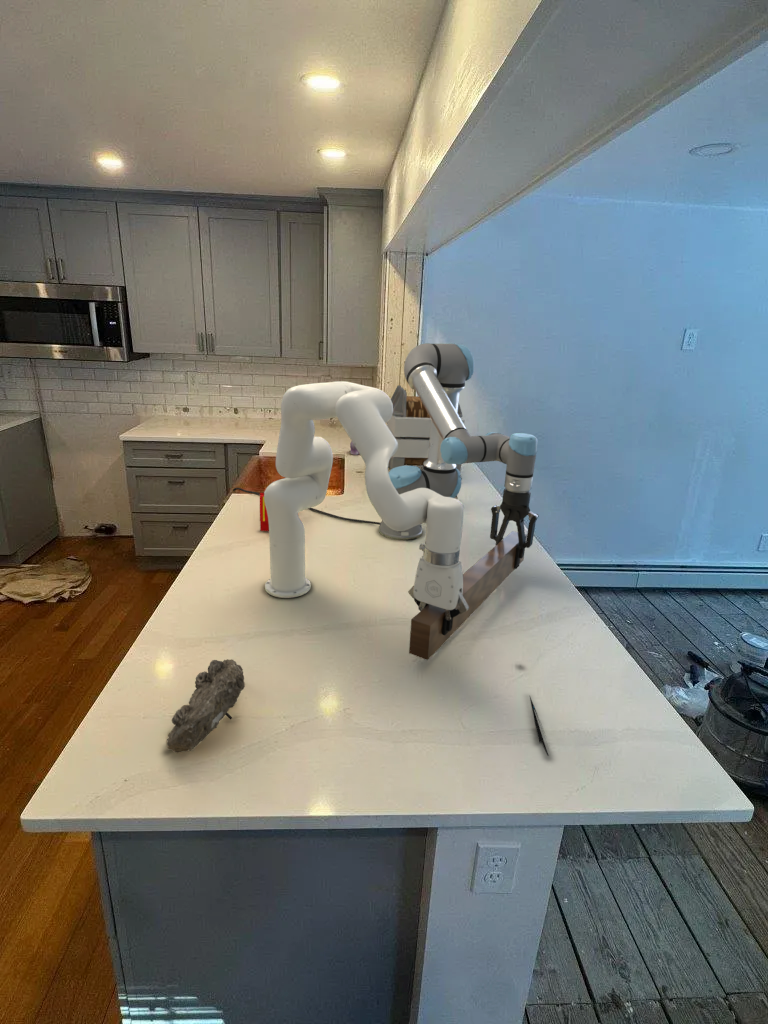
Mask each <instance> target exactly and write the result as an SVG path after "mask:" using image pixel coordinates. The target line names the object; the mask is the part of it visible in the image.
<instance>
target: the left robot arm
mask: <svg viewBox="0 0 768 1024" xmlns="http://www.w3.org/2000/svg"><path fill="white" fill-rule="evenodd" d="M392 414H393V404H392V401H391V398H390V396H389V395H388V394H387V393H386V392H385V391H384V390H382V389H379V388H377V387H373V386H368V385H363V384H360V383H355V382H350V381H343V380H341V381H340V380H339V381H328V382H315V383H306V384H299V385H295V386H292V387H289V388H288V389H287V390H286V391H285V393H284V394H283V396H282V398H281V404H280V429H279V434H278V441H277V447H276V453H275V469H276V472H277V473H278V475H279V476H281V477H283V478H280V479H277V480H274V481H272V482H271V483H269V485H268V486H266V488H265V490H264V492H265V493H264V492H263V493H264V501H265V506H266V510H267V514H268V522H269V531H268V538H269V539H268V540H269V574H270V578H269V579H268V580H267V581H266V582H265V583H264V591H265V592H266V593H267V594H269V596H273V597H276V598H282V599H292V598H297V597H301V596H303V595H305V594H308V592H309V591H310V590H311V587H312V585H311V583H312V582H311V581H310V580H309V578H307V577H306V529H305V524H304V522H303V521H302V519H301V518H300V516H299V513H300V512H303V511H305V510H310V509H309V508H314V507H317V506H319V505H321V504H322V503H323V502H324V500H325V498H326V496H327V492H328V488H329V483H330V478H331V474H332V469H333V464H334V463H333V462H334V454H333V450H332V447H331V444H330V443H329V442H328V441H327V440H326V438H324V437H322V436H318V435H317V436H316V435H315V434H316V427H315V426H316V425H315V422H314V421H321V420H329V419H335V418H337V420H338V421H339V424H340V425H341V427H342V428H343V429H344V431H345V433H346V434H347V436H348V438H349V439H350V440H351V441H352V442H353V444H354V446H355V447H356V449H357V450H358V452H359V454H358V455H360V456H361V459H362V460H363V462H364V465H365V471H364V480H365V483H364V484H365V490H366V494H367V498H368V499H369V502H370V503H371V506H372V507H373V508H374V511H375V512H376V513H377V515H378V516H379V518H380V520H381V522H382V521H383V522H384V523H385V524H386V525H387V526H388V527H389V528H391V529H392V530H395V531H405V530H408V529H410V528H412V527H414V526H417V525H419V524H421V525H423V524H426V525H425V537H424V538H425V539H424V543H419V546H418V549H419V550H420V551H422V552H423V554H422V556H420V558H419V560H418V564H417V569H416V573H415V578H414V584H413V586H412V587H411V588H410V589H408V591H407V592H408V594H409V596H410V597H411V598H412V599H413V600H414V602H415V604H416V605H417V607H418V611H419V612H420V611H421V610H423V609H424V608H425V607H426V606H427V605H428V604H430V605H433V606H436V607H439V608H442V609H444V610H445V618H444V619H443V626H442V635H446V634H447V633H448V632H449V631H451V630H452V625H453V618H454V617H455V616H457V615H458V614H461V613H464V612H466V611H467V610H468V609H469V606H468V604H467V603H466V601H465V599H464V597H463V574H464V573H463V565H462V561H460V554H461V542H462V533H463V522H464V512H465V510H464V509H465V507H464V504H463V503H462V501H461V500H460V499H459V498H458V499H455V498H451V497H444V496H442V495H440V494H438V493H436V492H434V491H432V490H430V489H428V488H417V489H414V490H411V491H408V492H405V493H402V494H398V492H397V490H396V489H395V487H394V486H393V484H392V482H391V480H390V477H389V473H388V472H389V467H388V464H389V460H390V458H391V457H392V456H393V455H394V454H395V452H396V451H397V449H398V442H397V440H396V439H395V437H394V436H393V434H392V433H391V431H390V430H389V428H388V427H387V423H386V422H388V421H389V420H390V419H391V417H392ZM351 441H350V442H351ZM457 603H458V604H459V606H460V607H458V608H456V609H455V607H456V605H457Z"/></svg>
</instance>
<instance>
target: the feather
mask: <svg viewBox="0 0 768 1024" xmlns="http://www.w3.org/2000/svg"><path fill="white" fill-rule="evenodd" d="M529 701H530V706H531V710H532V715H533V721H534V726H535V729H536V733H537V738H538V743H539V744H540V743H541V744H542V746H543V748H544V750H545V752H546V755H547V756H549V753H548V750H547V747H546V744H547V746H549V745H548V744H549V743H546V742H545V740H544V738H546V737H547V736H546V734H545V731H544V727H543V726H540V724H542V722H541V721H540V717H539V715H538V712H537V710H536V708H535V705H534V702H533V700H532V698H531V696H529ZM545 743H546V744H545Z"/></svg>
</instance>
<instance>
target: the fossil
mask: <svg viewBox="0 0 768 1024" xmlns="http://www.w3.org/2000/svg"><path fill="white" fill-rule="evenodd" d="M243 670H244V669H243V667H242V665H240V664H237V662H236V661H235V660H234V659H232V658H231V659H227V658H226V659H224V660H223V661H222V660H217V659H212V660H211V661H210V663H209V665H208V666H207V671H201V672H199V673H198V674H197V675H196V676H195V680H194V684H195V685H194V687H195V689H194V690H193V693H192V694H191V697H190V698H189V700H188V704H184V705H182V706H181V707H180V709H177V710H176V711H175V713H174V715H173V716H172V718H171V723H172V724H173V727H172V730H171V731H170V732H168V734H167V738H166V741H167V742H166V745H167V749H168V750H169V751H173V752H174V753H176V754H178V753H182V752H188V751H189V752H192V751H193V750H195V748H196V747H197V746H199V744H200V743H201V742H203V741H204V740H205V739H206V738H207V737H208V736H209V735H210V734H211V733H212V732H214V730H215V729H217V727H218V726H219V724H220V722H221V721H222V720H223V719H224V718H225V716H226V717H227V719H229V720H233V717H232V715H230V714H229V710H230V709H231V708H234V706H235V704H236V703H237V702H238V699H239V697H240V695H241V693H242V691H243V690H245V689H244V688H245V675H244V671H243Z"/></svg>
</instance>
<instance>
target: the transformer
mask: <svg viewBox="0 0 768 1024" xmlns="http://www.w3.org/2000/svg"><path fill="white" fill-rule="evenodd" d="M407 394H408V393H407V390H406V389H404V388H403V387H402V385H399V384H398V385H397V386H396V388H395V390H394V392H393V394H392V395H391V398H390V399H391V401H392V404H393V414H392V417H391V419H390V420H389V421H388V422H386V425H387V427H388V428H389V430H390V431H391V433H392V434H393V436H394V437H395V439H396V440H397V442H398V449H397V451H396V452H395V454H394V455H393V456H392V457H391V458H390V460H389V464H388V468H389V471H390V470H391V469H393V468H395V467H399V466H406V465H407V466H417V467H423V463H424V461H426V460H427V459H428V452H429V441H430V429H431V418H430V416H429V414H428V412H427V411H426V409H425V407H424V405H423V403H422V401H421V400H420V398H419V396H418V395H417V396H415V395H414V396H413V395H412V396H411V395H407ZM457 414H458V415H459V417H460V419H461V421H462V422H463V424H464V425H465V419H464V418H463V411H462V408H461V405H460V401H459V402H458V412H457ZM456 468H457V469H458V470H459V472H460V474H461V472H462V464H456Z"/></svg>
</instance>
